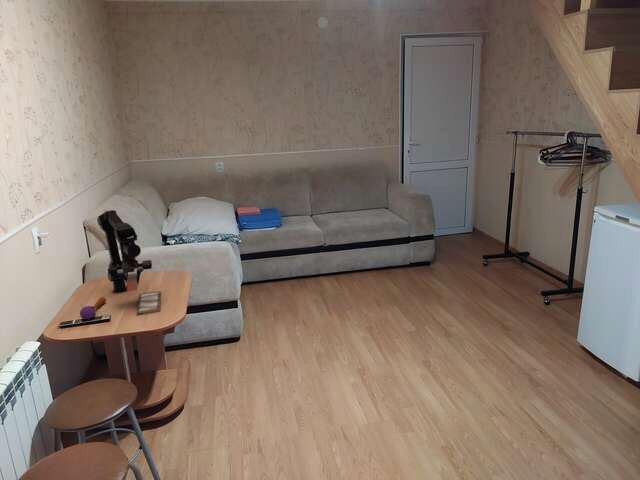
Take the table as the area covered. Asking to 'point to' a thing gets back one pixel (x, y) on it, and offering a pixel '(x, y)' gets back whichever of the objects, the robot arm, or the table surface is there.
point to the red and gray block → (132, 282)
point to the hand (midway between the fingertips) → (133, 284)
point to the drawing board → (149, 303)
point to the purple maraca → (91, 309)
